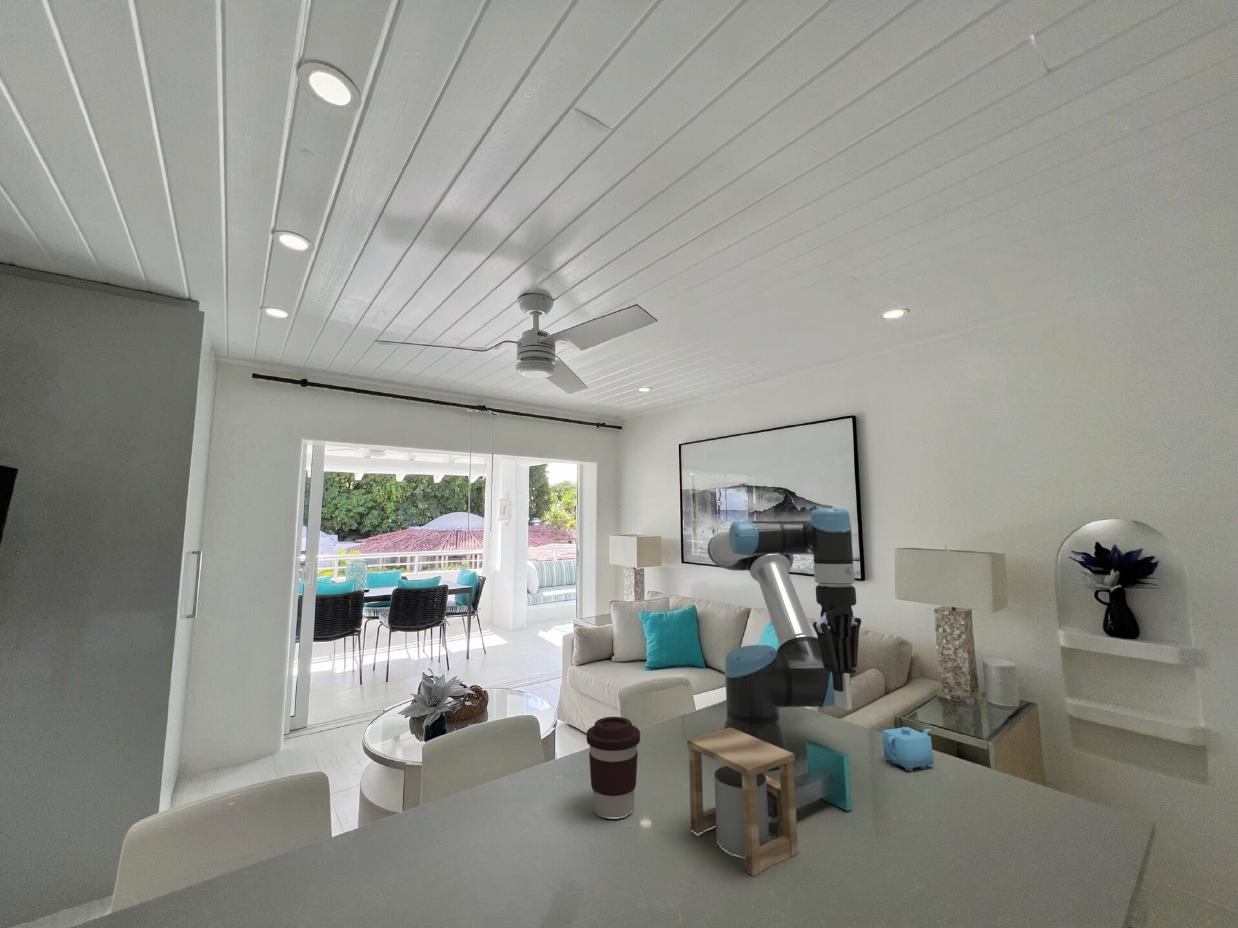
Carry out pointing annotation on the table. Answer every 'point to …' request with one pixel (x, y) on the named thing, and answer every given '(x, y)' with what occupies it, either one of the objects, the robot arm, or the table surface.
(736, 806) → the cup
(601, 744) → the coffee cup
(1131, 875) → the table surface
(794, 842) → the wooden stool
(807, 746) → the grey and teal block
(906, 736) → the teapot
